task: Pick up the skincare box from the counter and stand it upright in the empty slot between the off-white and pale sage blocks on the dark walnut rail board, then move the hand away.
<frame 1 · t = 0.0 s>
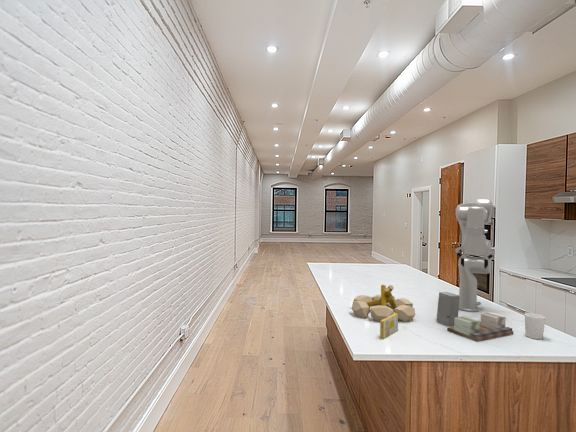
hand: (474, 267, 174), 31 cm above the worktop, tool pointing down, fingers open, 9 cm apart
campfire: (382, 314, 201), on the worktop
skincare box: (447, 324, 185), on the worktop
white cup: (534, 337, 168), on the worktop
rail board: (479, 332, 172), on the worktop
candy box: (389, 334, 167), on the worktop
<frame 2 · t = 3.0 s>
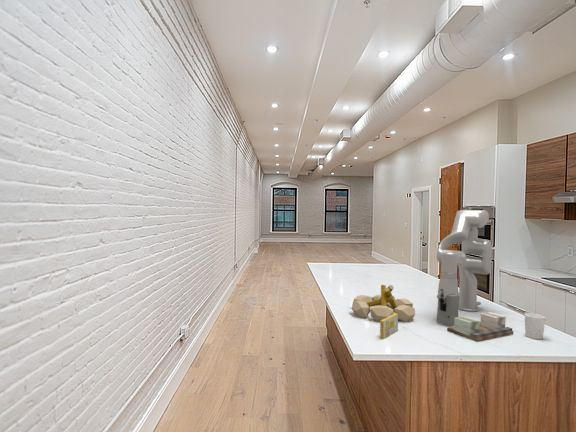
hand: (448, 309, 185), 7 cm above the worktop, tool pointing down, fingers closed on skincare box, 6 cm apart
skincare box: (447, 323, 185), on the worktop, touching gripper
everything else where it was.
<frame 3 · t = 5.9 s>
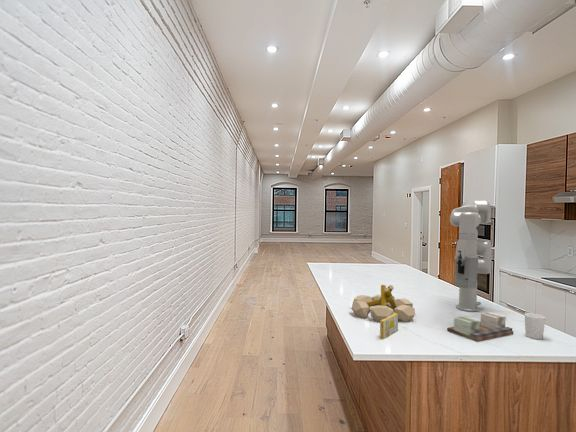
hand: (466, 272, 178), 28 cm above the worktop, tool pointing down, fingers closed on skincare box, 6 cm apart
skincare box: (465, 287, 178), point 20 cm above the worktop, touching gripper
everything else where it was.
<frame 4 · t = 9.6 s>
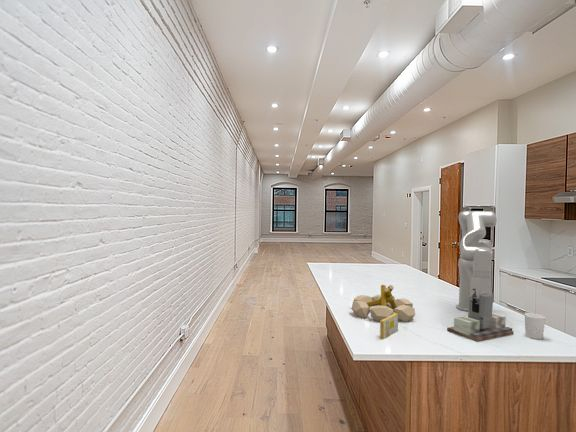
hand: (480, 311, 172), 10 cm above the worktop, tool pointing down, fingers closed on skincare box, 6 cm apart
skincare box: (480, 326, 172), point 3 cm above the worktop, touching gripper
everything else where it was.
when the fingers open (10 cm above the worktop, at t = 10.3 s): skincare box drops 1 cm, resting on rail board.
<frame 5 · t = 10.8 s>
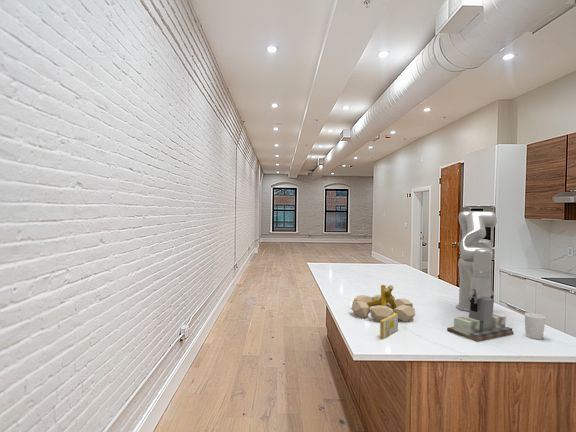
hand: (480, 310, 172), 11 cm above the worktop, tool pointing down, fingers open, 9 cm apart
skincare box: (480, 329, 173), point 1 cm above the worktop, touching rail board
everything else where it was.
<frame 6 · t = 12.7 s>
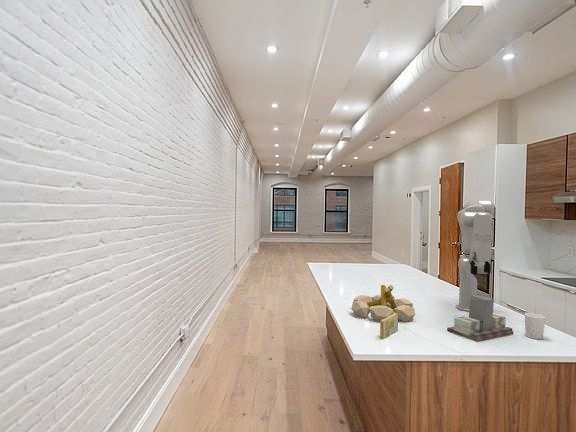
hand: (480, 273, 173), 28 cm above the worktop, tool pointing down, fingers open, 9 cm apart
nothing on the worktop moved.
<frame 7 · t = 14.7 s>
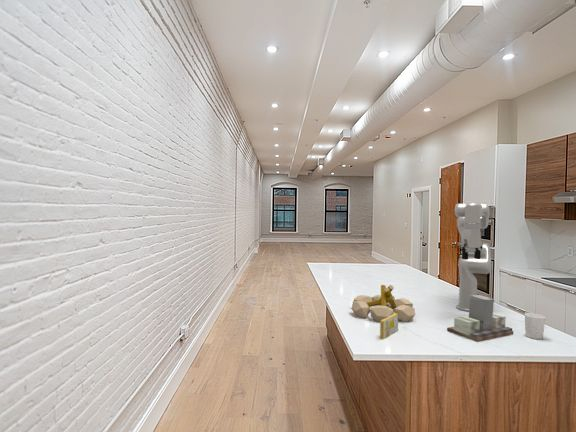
hand: (471, 259, 189), 33 cm above the worktop, tool pointing down, fingers open, 9 cm apart
nothing on the worktop moved.
at the end: skincare box 0.5 cm off-centre on the rail board, point 1.3 cm above the rail board's base; skincare box tilted 0°; the gripper is holding nothing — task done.
